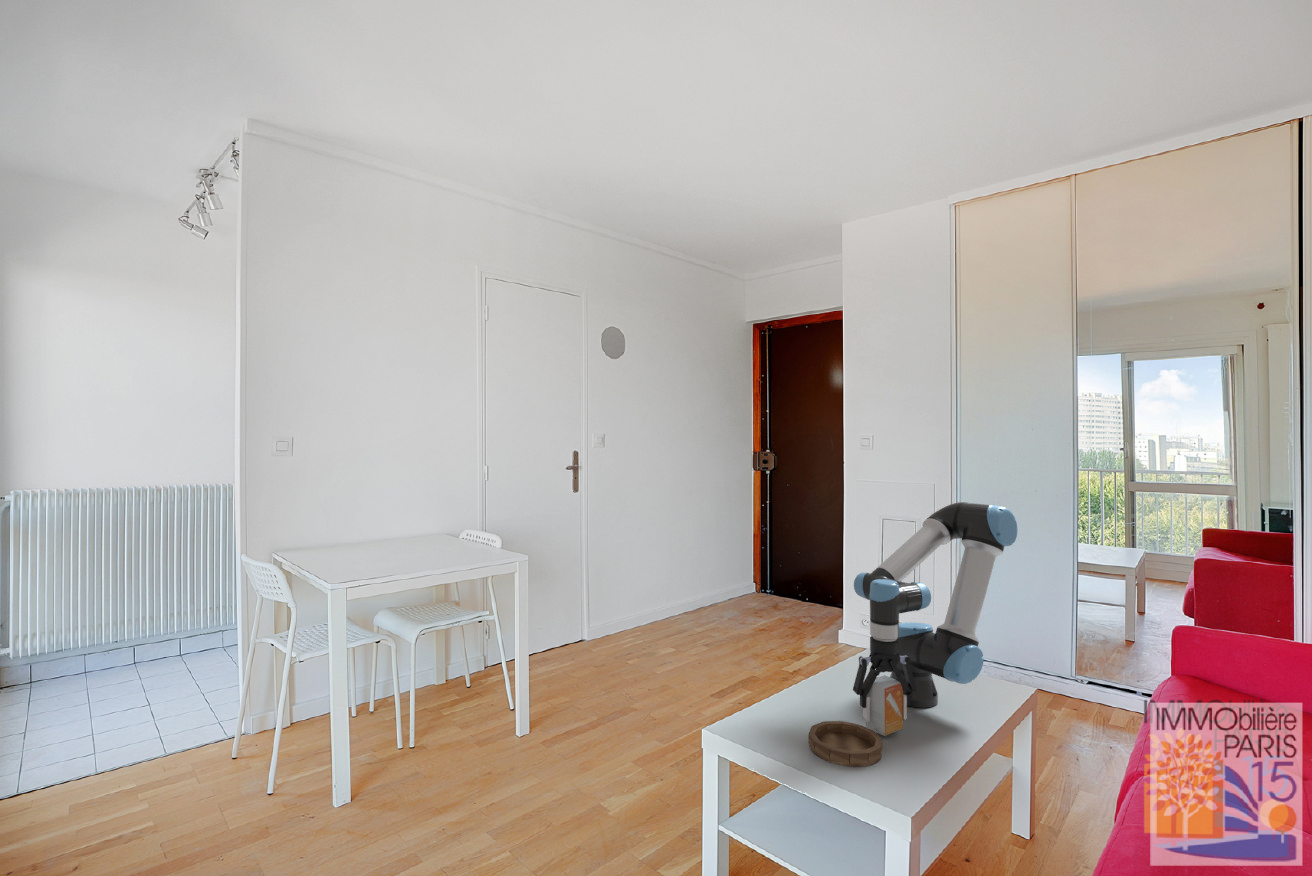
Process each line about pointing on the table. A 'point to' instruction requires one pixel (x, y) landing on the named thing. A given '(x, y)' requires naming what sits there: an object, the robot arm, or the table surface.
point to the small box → (885, 706)
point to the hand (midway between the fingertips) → (884, 718)
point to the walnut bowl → (845, 743)
